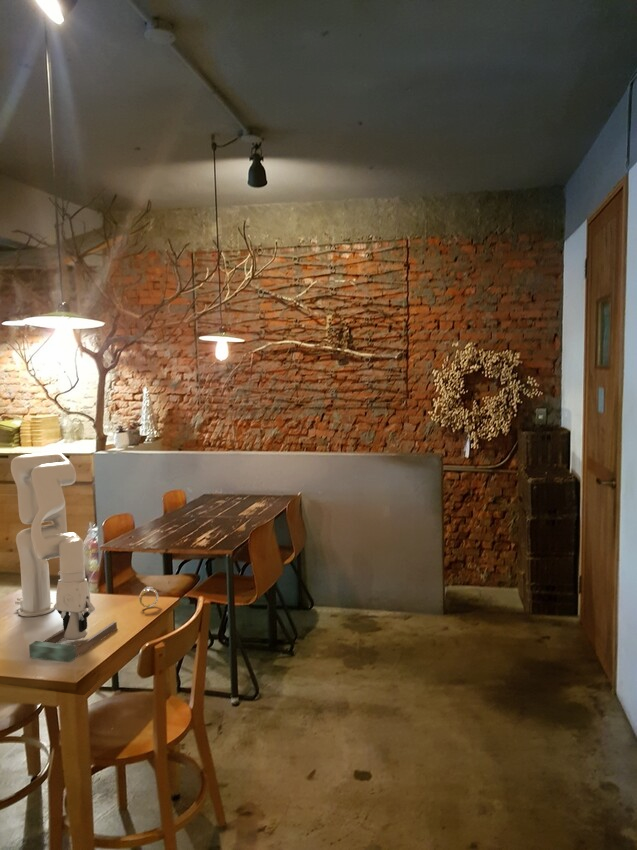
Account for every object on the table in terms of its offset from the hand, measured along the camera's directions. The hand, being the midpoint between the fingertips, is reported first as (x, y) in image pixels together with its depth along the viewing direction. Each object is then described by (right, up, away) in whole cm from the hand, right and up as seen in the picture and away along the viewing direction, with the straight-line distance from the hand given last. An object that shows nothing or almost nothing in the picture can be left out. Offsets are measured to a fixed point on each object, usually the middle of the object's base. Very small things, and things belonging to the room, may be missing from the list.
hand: (75, 629), depth 197 cm
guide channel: (0, -4, 0) cm, 4 cm away
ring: (+16, -2, +29) cm, 34 cm away
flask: (0, -3, 0) cm, 3 cm away
